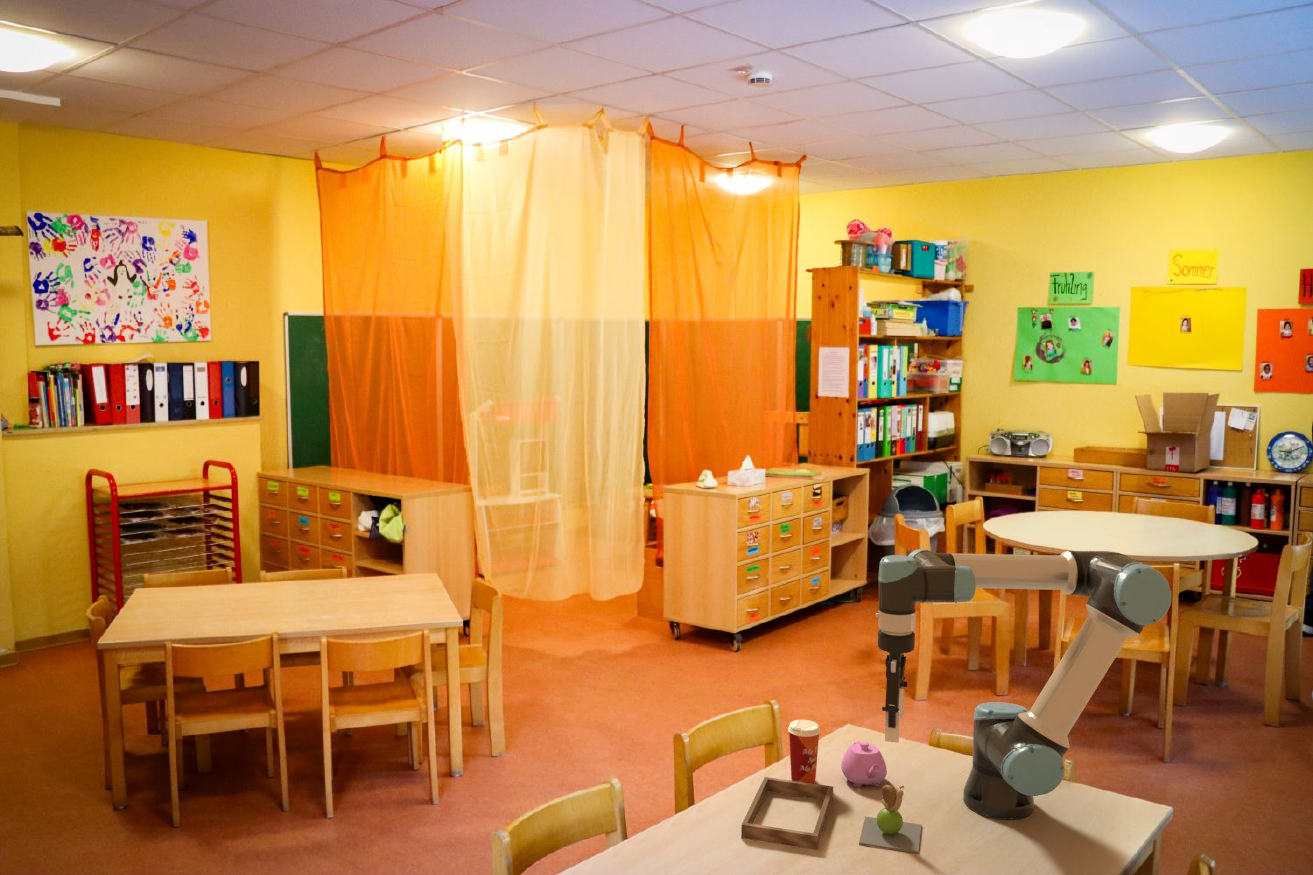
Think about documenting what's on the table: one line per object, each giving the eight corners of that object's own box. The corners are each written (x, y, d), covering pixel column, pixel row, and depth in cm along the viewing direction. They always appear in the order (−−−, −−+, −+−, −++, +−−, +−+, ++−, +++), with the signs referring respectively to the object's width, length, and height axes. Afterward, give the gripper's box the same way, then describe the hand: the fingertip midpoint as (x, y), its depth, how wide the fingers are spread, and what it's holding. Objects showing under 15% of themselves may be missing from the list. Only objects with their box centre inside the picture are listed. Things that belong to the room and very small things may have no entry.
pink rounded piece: (874, 767, 245) (875, 731, 245) (897, 795, 231) (898, 756, 230) (833, 770, 244) (834, 733, 243) (854, 798, 229) (855, 759, 228)
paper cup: (809, 791, 232) (810, 733, 231) (781, 782, 237) (781, 725, 236) (825, 779, 239) (826, 723, 237) (797, 771, 243) (798, 715, 242)
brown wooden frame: (833, 798, 229) (833, 786, 228) (817, 849, 206) (817, 836, 206) (764, 789, 234) (764, 776, 233) (741, 837, 211) (741, 824, 211)
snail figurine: (892, 844, 208) (892, 789, 206) (871, 830, 213) (871, 777, 212) (911, 837, 210) (912, 783, 209) (890, 823, 216) (891, 771, 214)
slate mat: (921, 826, 216) (921, 824, 216) (918, 853, 205) (918, 851, 205) (865, 817, 220) (865, 816, 220) (859, 844, 208) (859, 842, 208)
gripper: (883, 612, 221) (881, 705, 223) (871, 646, 197) (870, 749, 199) (918, 615, 218) (916, 709, 220) (911, 649, 195) (909, 754, 197)
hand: (894, 728), depth 210 cm, fingers open, 13 cm apart
